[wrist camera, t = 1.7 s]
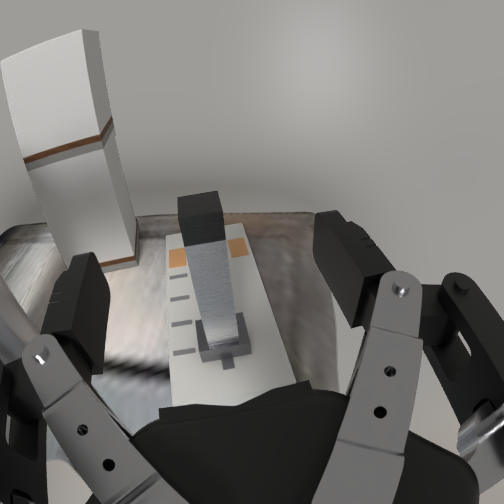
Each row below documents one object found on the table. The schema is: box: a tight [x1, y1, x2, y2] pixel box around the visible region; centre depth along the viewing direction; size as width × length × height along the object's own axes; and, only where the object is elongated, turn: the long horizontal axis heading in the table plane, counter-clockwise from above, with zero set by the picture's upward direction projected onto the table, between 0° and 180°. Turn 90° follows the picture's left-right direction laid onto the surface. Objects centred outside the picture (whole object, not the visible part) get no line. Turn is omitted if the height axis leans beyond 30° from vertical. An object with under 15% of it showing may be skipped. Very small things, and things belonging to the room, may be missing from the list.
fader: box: [178, 191, 252, 363], centre depth 28 cm, size 5×4×16 cm
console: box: [166, 223, 296, 407], centre depth 40 cm, size 12×28×3 cm, turn 12°
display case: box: [0, 29, 139, 273], centre depth 40 cm, size 11×11×35 cm
